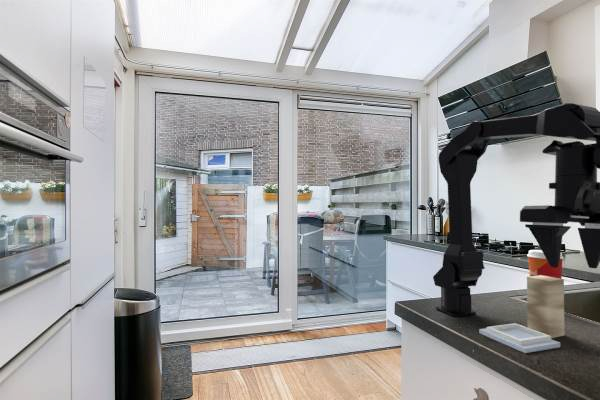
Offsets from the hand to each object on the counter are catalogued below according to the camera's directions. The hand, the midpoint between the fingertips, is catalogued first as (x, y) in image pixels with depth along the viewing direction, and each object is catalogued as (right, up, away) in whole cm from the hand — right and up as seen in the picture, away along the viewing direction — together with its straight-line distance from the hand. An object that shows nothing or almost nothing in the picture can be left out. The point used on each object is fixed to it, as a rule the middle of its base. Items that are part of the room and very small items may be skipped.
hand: (573, 267), depth 60 cm
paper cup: (+15, -16, +28) cm, 35 cm away
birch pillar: (+2, -15, +10) cm, 18 cm away
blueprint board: (-5, -15, +7) cm, 17 cm away
